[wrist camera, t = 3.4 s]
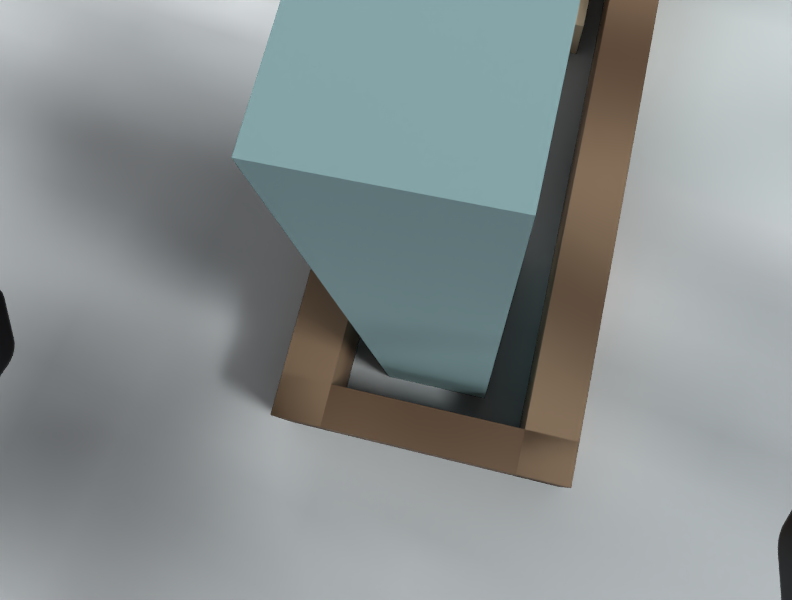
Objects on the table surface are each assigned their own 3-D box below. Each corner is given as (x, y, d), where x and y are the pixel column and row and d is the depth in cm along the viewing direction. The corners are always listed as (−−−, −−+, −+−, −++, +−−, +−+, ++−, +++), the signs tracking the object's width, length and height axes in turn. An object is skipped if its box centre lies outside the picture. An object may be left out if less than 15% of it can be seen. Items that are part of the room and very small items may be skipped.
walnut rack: (558, 486, 17) (570, 488, 15) (290, 421, 18) (270, 415, 16) (681, -180, 22) (702, -244, 20) (459, -204, 23) (458, -267, 21)
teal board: (483, 398, 18) (535, 215, 5) (389, 376, 18) (230, 158, 6) (515, 251, 19) (620, -200, 6) (424, 232, 19) (352, -229, 7)
